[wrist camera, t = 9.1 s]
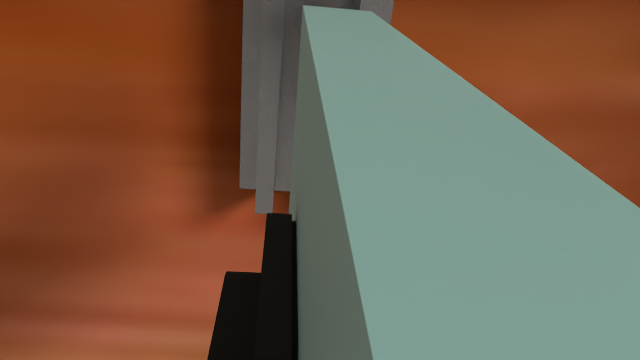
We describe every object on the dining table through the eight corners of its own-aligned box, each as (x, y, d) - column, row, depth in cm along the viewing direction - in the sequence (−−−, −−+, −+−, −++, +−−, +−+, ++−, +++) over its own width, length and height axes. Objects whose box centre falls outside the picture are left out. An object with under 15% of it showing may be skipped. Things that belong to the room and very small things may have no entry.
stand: (396, -44, 24) (414, -45, 21) (362, 188, 31) (371, 219, 27) (246, -60, 24) (237, -64, 20) (241, 181, 30) (233, 212, 26)
